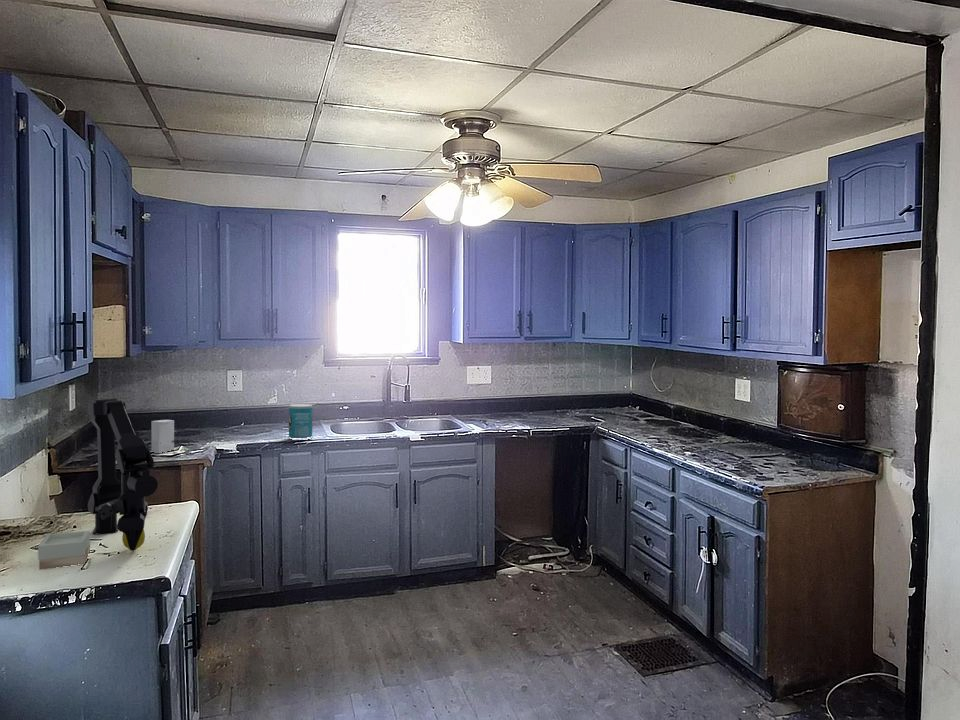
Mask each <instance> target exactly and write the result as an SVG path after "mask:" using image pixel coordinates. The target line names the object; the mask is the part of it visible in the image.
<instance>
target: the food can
mask: <svg viewBox="0 0 960 720" xmlns="http://www.w3.org/2000/svg"><path fill="white" fill-rule="evenodd" d="M311 436H312V437H313V404H312V403H292V404H289V405H288V438H289V437H291V438H307V437H311Z"/></svg>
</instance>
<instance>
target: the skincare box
mask: <svg viewBox="0 0 960 720" xmlns="http://www.w3.org/2000/svg"><path fill="white" fill-rule="evenodd" d="M150 435H151V447H150V448H151V450H150V452H151V453H152V452H154V454H157V453H161V454H163V453H162V452H167V451H171V450H174V451H175V420H174V419H173V420H172V419H160V420H151V434H150ZM167 453H168V452H167Z"/></svg>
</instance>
